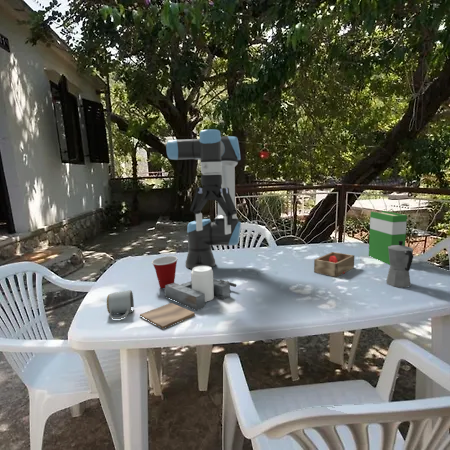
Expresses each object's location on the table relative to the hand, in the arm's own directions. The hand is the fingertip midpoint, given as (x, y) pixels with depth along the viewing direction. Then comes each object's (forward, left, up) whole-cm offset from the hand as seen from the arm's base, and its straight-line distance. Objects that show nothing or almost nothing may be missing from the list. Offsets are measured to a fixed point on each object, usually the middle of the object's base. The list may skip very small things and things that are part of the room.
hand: (213, 232), depth 124 cm
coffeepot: (+48, +57, -25) cm, 79 cm away
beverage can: (-2, -5, -25) cm, 26 cm away
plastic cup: (-24, -6, -25) cm, 35 cm away
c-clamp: (-5, -2, -25) cm, 26 cm away
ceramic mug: (-13, -32, -26) cm, 43 cm away
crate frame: (+19, +59, -25) cm, 67 cm away
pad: (0, -23, -25) cm, 34 cm away
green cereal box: (+31, +91, -25) cm, 100 cm away
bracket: (+19, +59, -26) cm, 67 cm away
